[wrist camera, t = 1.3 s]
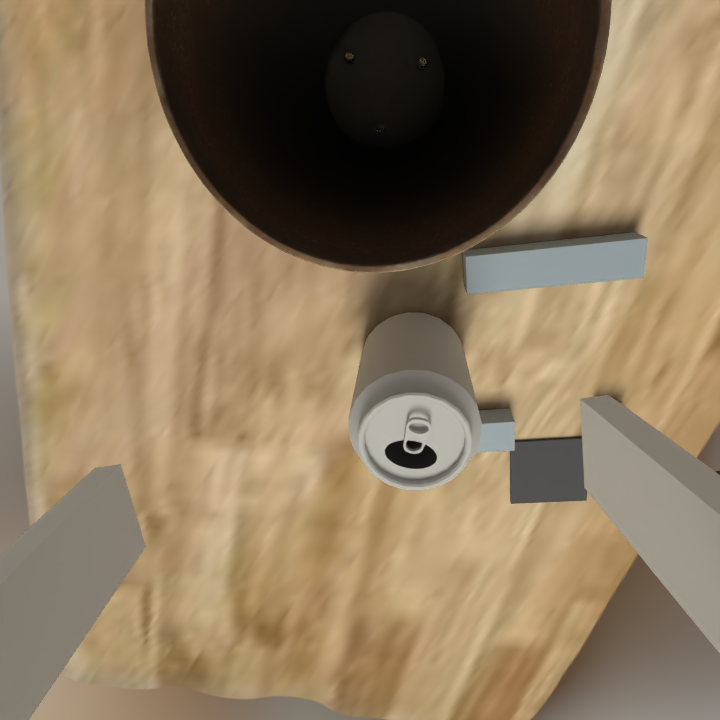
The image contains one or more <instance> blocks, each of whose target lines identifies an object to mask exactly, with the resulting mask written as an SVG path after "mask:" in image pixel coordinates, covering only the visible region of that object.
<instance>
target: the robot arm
mask: <svg viewBox="0 0 720 720" xmlns="http://www.w3.org/2000/svg"><path fill="white" fill-rule="evenodd" d="M580 407H581V427H582V447H583V467H584V487H585V489H586V490H587V491H588V493H589V494H590V495H591V496H592V498H593V499H594V500H595V501H596V503H597V504H598V505H599V506H600V507H601V509H602V510H603V511H604V512H605V514H606V515H607V516H608V517H609V518H610V520H611V521H612V522H613V523H614V525H615V526H616V527H617V528H618V529H619V531H620V532H621V533H622V534H623V536H624V537H625V538H626V539H627V540H628V542H629V543H630V544H631V545H632V547H633V548H634V549H635V550H636V552H637V553H638V554H639V555H640V556H641V558H642V559H643V560H644V561H645V562H646V564H647V565H648V566H649V567H650V569H651V570H652V571H653V572H654V574H655V575H656V576H657V577H658V578H659V580H660V581H661V582H662V583H663V585H664V586H665V587H666V588H667V589H668V591H669V592H670V593H671V594H672V596H673V597H674V598H675V599H676V600H677V602H678V603H679V604H680V605H681V607H682V608H683V609H684V610H685V612H686V613H687V614H688V615H689V616H690V617H691V619H692V620H693V621H694V622H695V624H696V625H697V626H698V627H699V629H700V630H701V631H702V632H703V633H704V635H705V636H706V637H707V638H708V640H709V641H710V642H711V643H712V645H713V646H714V647H715V648H716V649H717V651H718V652H719V653H720V471H713V470H712V469H710V468H709V467H708V466H707V465H705V464H703V463H702V462H701V461H700V460H698V459H697V458H695V457H694V456H693V455H691V454H690V453H688V452H687V451H686V450H684V449H683V448H682V447H680V446H679V445H677V444H676V443H675V442H673V441H672V440H670V439H669V438H668V437H666V436H665V435H663V434H662V433H661V432H659V431H658V430H657V429H655V428H654V427H652V426H651V425H650V424H648V423H647V422H645V421H644V420H643V419H641V418H640V417H638V416H637V415H636V414H634V413H633V412H632V411H630V410H629V409H627V408H626V407H625V406H623V405H622V404H620V403H619V402H618V401H616V400H615V399H613V398H612V397H611V396H609V395H603V396H596V397H589V398H582V399H580ZM145 547H146V545H145V542H144V539H143V536H142V532H141V529H140V526H139V522H138V519H137V516H136V513H135V509H134V506H133V503H132V500H131V496H130V493H129V490H128V487H127V483H126V480H125V477H124V473H123V470H122V467H121V464H119V465H112V466H105V467H98V468H95V469H93V470H92V471H91V472H90V473H89V474H88V475H87V476H86V477H85V478H84V479H83V480H81V481H80V482H79V483H78V484H77V485H76V486H75V487H74V488H73V489H72V490H71V491H69V492H68V493H67V494H66V495H65V496H64V497H63V498H62V499H61V500H60V501H58V502H57V503H56V504H55V505H54V506H53V507H52V508H51V509H50V510H49V511H48V512H46V513H45V514H44V515H43V516H42V517H41V518H40V519H39V520H38V521H37V522H36V523H34V524H33V525H32V526H31V527H30V528H29V529H28V530H27V531H26V532H25V533H24V534H22V535H21V536H20V537H19V538H18V539H17V540H16V541H15V542H14V543H13V544H11V545H10V546H9V547H8V548H7V549H6V550H5V551H4V552H3V553H2V554H1V555H0V720H29V719H30V717H31V716H32V714H33V713H34V712H35V710H36V709H37V707H38V706H39V704H40V703H41V701H42V700H43V698H44V697H45V695H46V694H47V692H48V691H49V689H50V688H51V686H52V685H53V683H54V682H55V680H56V679H57V677H58V676H59V674H60V673H61V672H62V670H63V669H64V667H65V666H66V664H67V663H68V661H69V660H70V658H71V657H72V655H73V654H74V652H75V651H76V649H77V648H78V646H79V645H80V643H81V642H82V640H83V639H84V637H85V636H86V634H87V633H88V632H89V630H90V629H91V627H92V626H93V624H94V623H95V621H96V620H97V618H98V617H99V615H100V614H101V612H102V611H103V609H104V608H105V606H106V605H107V603H108V602H109V600H110V599H111V597H112V596H113V594H114V593H115V592H116V590H117V589H118V587H119V586H120V584H121V583H122V581H123V580H124V578H125V577H126V575H127V574H128V572H129V571H130V569H131V568H132V566H133V565H134V563H135V562H136V560H137V559H138V557H139V556H140V554H141V553H142V552H143V550H144V549H145Z"/></svg>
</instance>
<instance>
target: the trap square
mask: <svg viewBox="0 0 720 720" xmlns="http://www.w3.org/2000/svg"><path fill="white" fill-rule="evenodd" d="M510 494H511V504H514V503H537V502H561V501H584V500H586V499H587V490H586V489H585V487H584V467H583V447H582V437H576V438H559V439H542V440H524V441H515V450H514V451H510Z"/></svg>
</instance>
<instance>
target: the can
mask: <svg viewBox="0 0 720 720" xmlns="http://www.w3.org/2000/svg"><path fill="white" fill-rule="evenodd" d="M481 427H482V422H481V418H480V414H479V410H478V406H477V402H476V398H475V394H474V390H473V386H472V382H471V378H470V374H469V370H468V366H467V362H466V358H465V354H464V350H463V346H462V343H461V340H460V338H459V337H458V336H457V334H456V333H455V331H454V330H453V328H452V327H450V326H449V325H448V324H446V323H445V322H444V321H442V320H441V319H440V318H437V317H434V316H431V315H428V314H425V313H412V312H406V313H402V314H399V315H395V316H391V317H389V318H388V319H386V320H385V321H383V322H382V323H380V324H379V325H377V326H376V327H375V329H374V330H373V331H372V332H371V334H370V335H369V336H368V337H367V339H366V342H365V345H364V348H363V351H362V355H361V360H360V365H359V370H358V375H357V379H356V384H355V389H354V394H353V399H352V404H351V409H350V414H349V437H350V439H351V442H352V445H353V447H354V450H355V452H356V453H357V455H358V456H359V457H360V458H361V459H362V462H363V464H364V465H365V466H366V467H367V468H368V470H369V471H370V472H371V473H372V474H373V475H374V476H375V477H377V478H378V479H380V480H381V481H383V482H384V483H386V484H388V485H391V486H394V487H397V488H400V489H403V490H426V489H431V488H435V487H439V486H441V485H443V484H445V483H447V482H449V481H451V480H453V479H454V478H455V477H456V476H457V475H458V474H459V473H460V472H461V471H462V470H463V469H464V468H465V466H466V465H467V463H468V461H469V460H470V459H471V458H472V456H473V454H474V452H475V450H476V448H477V446H478V444H479V442H480V436H481Z"/></svg>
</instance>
